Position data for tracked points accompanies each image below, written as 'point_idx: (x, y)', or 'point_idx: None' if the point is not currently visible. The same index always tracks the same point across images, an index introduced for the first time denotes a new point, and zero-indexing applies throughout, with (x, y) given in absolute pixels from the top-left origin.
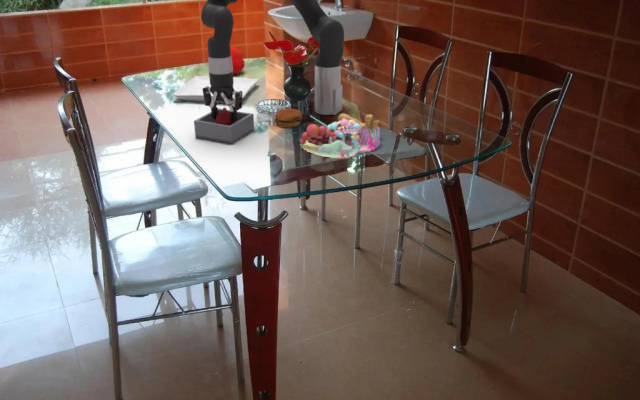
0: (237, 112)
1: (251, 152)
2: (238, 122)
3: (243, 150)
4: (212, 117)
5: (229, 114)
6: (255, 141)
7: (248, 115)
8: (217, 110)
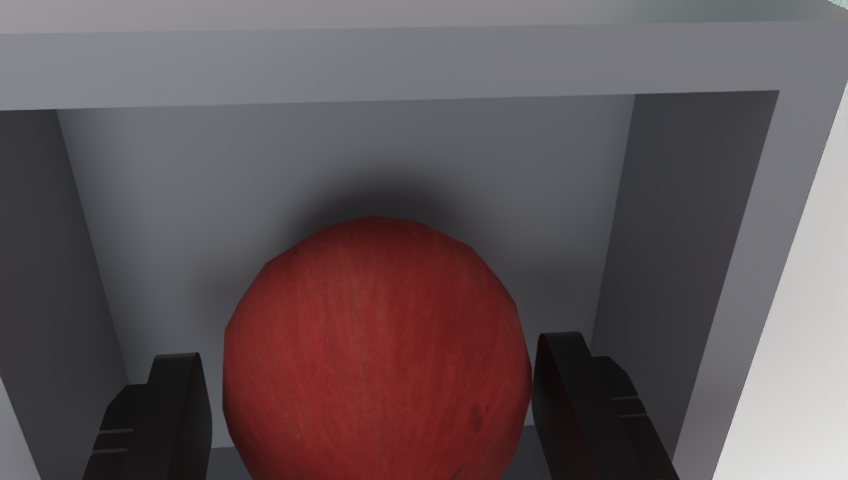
0: (469, 97)
1: (832, 457)
2: (711, 471)
3: (748, 456)
4: (23, 288)
5: (506, 460)
6: (809, 252)
7: (781, 154)
8: (175, 460)
